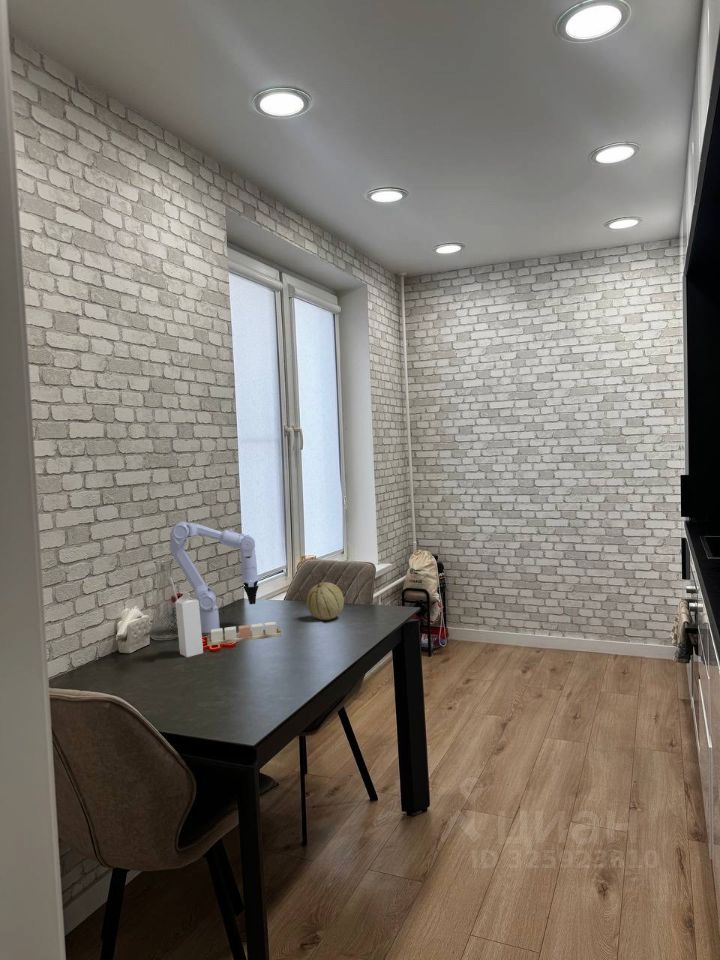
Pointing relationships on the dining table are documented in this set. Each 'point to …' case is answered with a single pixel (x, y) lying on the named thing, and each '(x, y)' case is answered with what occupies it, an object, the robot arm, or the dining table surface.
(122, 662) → the dining table surface
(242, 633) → the block terracotta
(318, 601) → the cantaloupe
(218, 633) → the cream block
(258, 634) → the cream block
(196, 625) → the milk
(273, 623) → the cream block
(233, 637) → the cream block
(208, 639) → the rack
